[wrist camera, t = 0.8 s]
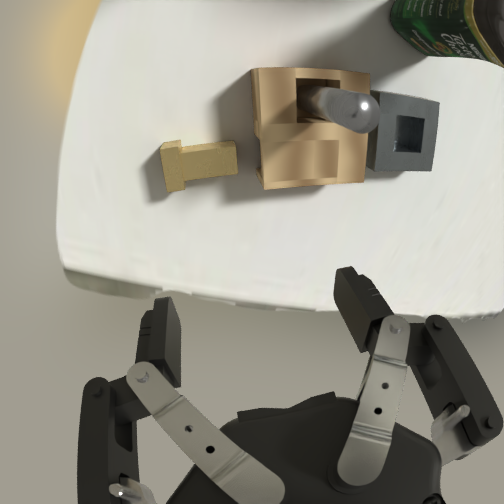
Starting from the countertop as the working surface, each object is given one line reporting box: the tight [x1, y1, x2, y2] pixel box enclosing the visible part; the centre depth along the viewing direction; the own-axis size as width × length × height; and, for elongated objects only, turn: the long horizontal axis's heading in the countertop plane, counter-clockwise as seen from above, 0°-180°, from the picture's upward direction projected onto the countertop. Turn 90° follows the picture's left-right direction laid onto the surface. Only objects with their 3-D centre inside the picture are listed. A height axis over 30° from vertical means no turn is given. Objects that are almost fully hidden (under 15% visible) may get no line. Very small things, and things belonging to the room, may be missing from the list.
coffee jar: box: [391, 0, 504, 68], centre depth 16 cm, size 10×8×19 cm
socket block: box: [251, 67, 370, 190], centre depth 29 cm, size 12×13×5 cm
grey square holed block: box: [366, 90, 440, 171], centre depth 31 cm, size 10×10×4 cm
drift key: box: [160, 140, 238, 192], centre depth 31 cm, size 5×8×3 cm, turn 94°
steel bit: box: [296, 85, 380, 134], centre depth 23 cm, size 3×3×13 cm
